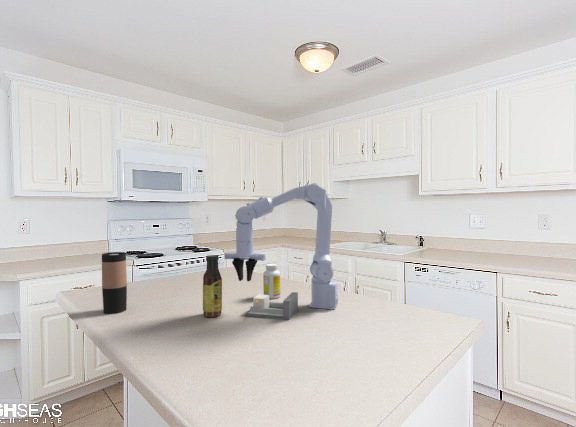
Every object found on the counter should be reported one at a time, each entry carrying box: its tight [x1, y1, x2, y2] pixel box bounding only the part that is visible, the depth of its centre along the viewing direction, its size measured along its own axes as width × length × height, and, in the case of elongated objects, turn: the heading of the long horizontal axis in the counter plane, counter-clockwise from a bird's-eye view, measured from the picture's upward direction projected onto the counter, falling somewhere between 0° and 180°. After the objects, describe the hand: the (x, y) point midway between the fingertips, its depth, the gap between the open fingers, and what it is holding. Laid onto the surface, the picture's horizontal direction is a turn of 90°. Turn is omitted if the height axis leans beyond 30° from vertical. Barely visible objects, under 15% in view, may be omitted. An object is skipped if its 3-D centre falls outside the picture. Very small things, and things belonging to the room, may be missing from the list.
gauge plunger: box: [252, 293, 270, 308], centre depth 116 cm, size 4×8×4 cm, turn 164°
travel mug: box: [101, 251, 128, 315], centre depth 119 cm, size 8×8×20 cm
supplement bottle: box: [262, 263, 281, 300], centre depth 135 cm, size 7×7×13 cm
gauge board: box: [245, 291, 299, 321], centre depth 116 cm, size 15×11×6 cm
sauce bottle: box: [202, 254, 223, 318], centre depth 114 cm, size 6×6×20 cm
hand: (244, 280), depth 119 cm, fingers open, 2 cm apart
